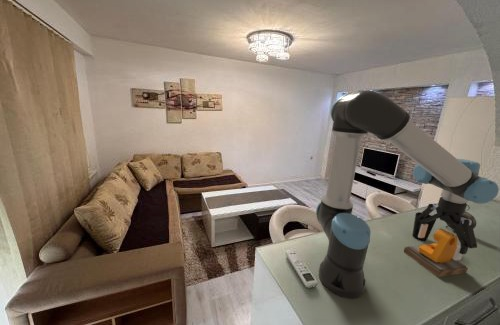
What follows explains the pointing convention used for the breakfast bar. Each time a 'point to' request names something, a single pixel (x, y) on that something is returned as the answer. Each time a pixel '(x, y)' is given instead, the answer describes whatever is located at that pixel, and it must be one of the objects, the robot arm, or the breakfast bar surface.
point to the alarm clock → (467, 216)
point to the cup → (416, 229)
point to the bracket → (440, 247)
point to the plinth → (436, 263)
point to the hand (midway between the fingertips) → (437, 247)
